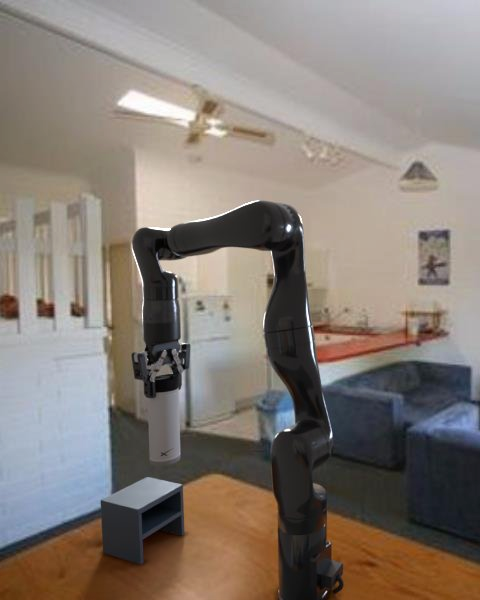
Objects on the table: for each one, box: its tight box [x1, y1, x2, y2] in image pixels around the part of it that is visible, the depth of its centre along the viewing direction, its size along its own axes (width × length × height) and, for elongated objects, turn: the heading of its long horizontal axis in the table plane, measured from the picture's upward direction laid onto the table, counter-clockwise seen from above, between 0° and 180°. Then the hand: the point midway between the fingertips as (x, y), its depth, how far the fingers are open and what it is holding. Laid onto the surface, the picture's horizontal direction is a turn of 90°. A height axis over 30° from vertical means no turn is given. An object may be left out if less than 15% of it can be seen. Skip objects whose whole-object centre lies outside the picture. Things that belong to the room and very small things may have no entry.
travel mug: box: [147, 373, 181, 467], centre depth 107 cm, size 6×7×20 cm
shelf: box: [99, 476, 186, 565], centre depth 107 cm, size 11×12×12 cm
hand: (163, 393), depth 107 cm, fingers closed on travel mug, 6 cm apart
